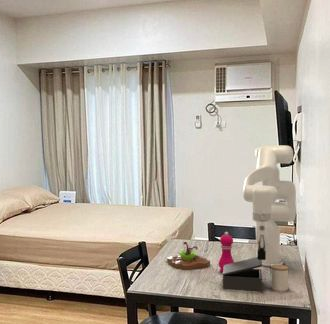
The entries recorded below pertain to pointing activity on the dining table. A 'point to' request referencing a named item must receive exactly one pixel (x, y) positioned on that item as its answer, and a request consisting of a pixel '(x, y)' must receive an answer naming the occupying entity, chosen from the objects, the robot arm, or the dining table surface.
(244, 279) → the dark grey open box
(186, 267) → the plant
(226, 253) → the pepper mill
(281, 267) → the canister
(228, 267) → the lid
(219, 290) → the dining table surface
